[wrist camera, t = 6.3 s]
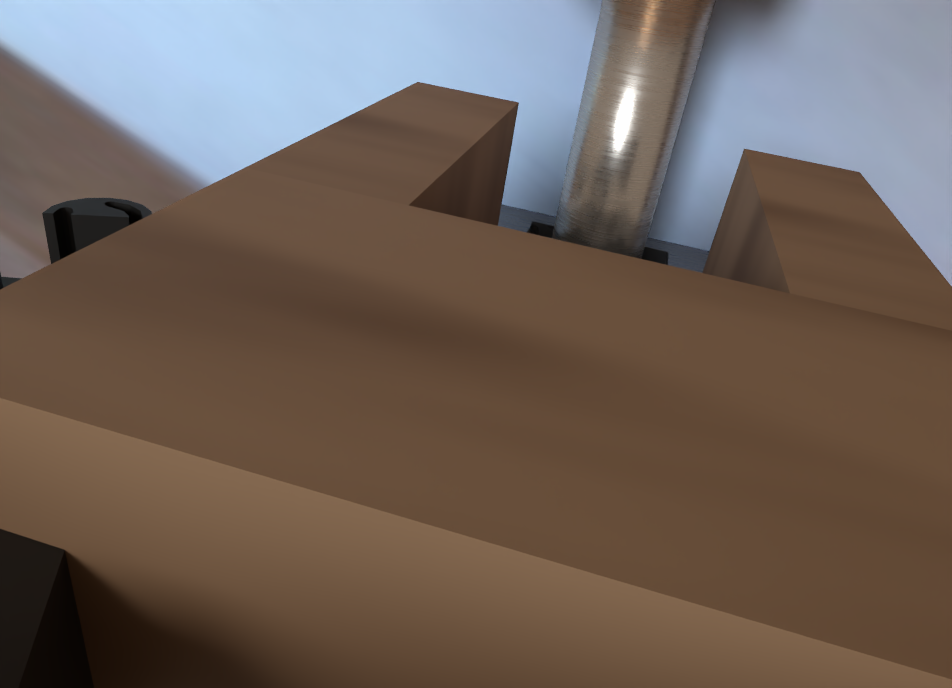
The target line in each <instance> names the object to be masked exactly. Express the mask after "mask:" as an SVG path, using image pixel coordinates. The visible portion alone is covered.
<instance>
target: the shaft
mask: <svg viewBox="0 0 952 688" xmlns="http://www.w3.org/2000/svg"><path fill="white" fill-rule="evenodd" d="M714 3H715V0H602V5H601V10H600V14H599V19H598V24H597V28H596V33H595V38H594V43H593V47H592V52H591V57H590V61H589V66H588V71H587V75H586V80H585V85H584V89H583V94H582V99H581V103H580V108H579V113H578V118H577V122H576V127H575V132H574V136H573V141H572V146H571V150H570V155H569V160H568V164H567V169H566V174H565V178H564V183H563V188H562V192H561V197H560V202H559V207H558V211H557V216H556V221H555V225H554V230H553V235H552V239H557V240H561V241H565V242H570V243H574V244H578V245H583V246H587V247H591V248H596V249H600V250H604V251H609V252H613V253H617V254H622V255H626V256H630V257H635V258H639V259H641V258H642V255H643V251H644V248H645V244H646V241H647V237H648V234H649V230H650V227H651V223H652V220H653V216H654V213H655V209H656V206H657V202H658V199H659V195H660V192H661V188H662V185H663V181H664V178H665V174H666V171H667V167H668V164H669V160H670V157H671V153H672V150H673V146H674V143H675V139H676V136H677V132H678V129H679V125H680V122H681V118H682V115H683V112H684V108H685V105H686V101H687V98H688V94H689V91H690V87H691V84H692V80H693V77H694V73H695V70H696V66H697V63H698V59H699V56H700V52H701V49H702V45H703V42H704V38H705V35H706V31H707V28H708V24H709V21H710V17H711V14H712V10H713V7H714Z"/></svg>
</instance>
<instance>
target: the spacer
mask: <svg viewBox="0 0 952 688" xmlns="http://www.w3.org/2000/svg"><path fill="white" fill-rule="evenodd" d="M518 104H519V103H518V102H513V101H508V100H503V99H498V98H494V97H489V96H484V95H479V94H474V93H469V92H464V91H459V90H454V89H449V88H445V87H440V86H435V85H430V84H425V83H420V82H417V83H415V84H413V85H411V86H409V87H407V88H405V89H403V90H401V91H399V92H397V93H395V94H392V95H390V96H388V97H386V98H384V99H382V100H380V101H378V102H376V103H374V104H372V105H370V106H368V107H366V108H364V109H362V110H360V111H358V112H356V113H354V114H352V115H350V116H348V117H346V118H344V119H342V120H340V121H338V122H336V123H334V124H332V125H330V126H328V127H326V128H324V129H322V130H320V131H318V132H316V133H314V134H312V135H310V136H308V137H306V138H304V139H302V140H300V141H298V142H296V143H294V144H292V145H290V146H288V147H286V148H284V149H282V150H280V151H278V152H276V153H274V154H272V155H270V156H268V157H266V158H264V159H262V160H260V161H258V162H256V163H254V164H252V165H250V166H248V167H246V168H244V169H242V170H240V171H238V172H236V173H234V174H232V175H230V176H228V177H226V178H224V179H222V180H219V181H217V182H215V183H213V184H211V185H209V186H207V187H205V188H203V189H201V190H199V191H197V192H195V193H193V194H191V195H189V196H187V197H185V198H183V199H181V200H179V201H177V202H175V203H173V204H171V205H169V206H167V207H165V208H163V209H161V210H159V211H157V212H155V213H153V214H151V215H149V216H147V217H145V218H143V219H141V220H139V221H137V222H135V223H133V224H131V225H129V226H127V227H125V228H123V229H121V230H119V231H117V232H115V233H113V234H111V235H109V236H107V237H105V238H103V239H101V240H99V241H97V242H95V243H93V244H91V245H89V246H87V247H85V248H83V249H81V250H79V251H77V252H75V253H73V254H71V255H69V256H67V257H65V258H63V259H61V260H59V261H57V262H55V263H53V264H51V265H49V266H46V267H44V268H42V269H40V270H38V271H36V272H34V273H32V274H30V275H28V276H26V277H24V278H22V279H20V280H18V281H16V282H14V283H12V284H10V285H8V286H6V287H4V288H2V289H0V529H3V530H6V531H9V532H12V533H15V534H18V535H21V536H24V537H27V538H30V539H33V540H37V541H40V542H43V543H46V544H49V545H52V546H55V547H58V548H61V549H64V550H65V553H66V558H67V563H68V567H69V572H70V577H71V582H72V586H73V591H74V596H75V600H76V605H77V610H78V614H79V619H80V624H81V629H82V633H83V638H84V643H85V647H86V652H87V657H88V661H89V666H90V671H91V676H92V680H93V685H94V688H952V287H951V285H950V284H949V283H948V282H947V280H946V279H945V278H944V277H943V275H942V274H941V273H940V272H939V270H938V269H937V268H936V267H935V265H934V264H933V263H932V262H931V260H930V259H929V258H928V257H927V256H926V254H925V253H924V252H923V251H922V249H921V248H920V247H919V246H918V244H917V243H916V242H915V241H914V239H913V238H912V237H911V236H910V234H909V233H908V232H907V231H906V229H905V228H904V227H903V226H902V224H901V223H900V222H899V221H898V219H897V218H896V217H895V216H894V214H893V213H892V212H891V211H890V209H889V208H888V207H887V206H886V205H885V203H884V202H883V201H882V200H881V198H880V197H879V196H878V195H877V193H876V192H875V191H874V190H873V188H872V187H871V186H870V185H869V183H868V182H867V181H866V180H865V178H864V177H863V176H862V175H861V173H860V172H855V171H851V170H846V169H841V168H836V167H831V166H826V165H821V164H816V163H811V162H807V161H802V160H797V159H792V158H787V157H782V156H777V155H772V154H767V153H763V152H758V151H753V150H748V149H744V151H743V154H742V157H741V160H740V163H739V166H738V169H737V172H736V175H735V178H734V181H733V184H732V187H731V189H730V192H729V195H728V198H727V201H726V204H725V207H724V210H723V213H722V216H721V219H720V222H719V225H718V228H717V231H716V234H715V237H714V240H713V243H712V246H711V249H710V252H709V255H708V258H707V261H706V264H705V266H704V269H703V272H702V273H700V272H695V271H691V270H687V269H682V268H678V267H674V266H669V265H665V264H661V263H656V262H652V261H648V260H643V259H639V258H635V257H630V256H626V255H622V254H617V253H613V252H609V251H604V250H600V249H596V248H591V247H587V246H583V245H578V244H574V243H570V242H565V241H561V240H557V239H552V238H548V237H544V236H539V235H535V234H531V233H526V232H522V231H518V230H513V229H509V228H505V227H500V226H498V222H499V216H500V210H501V204H502V198H503V192H504V186H505V180H506V175H507V169H508V163H509V157H510V151H511V145H512V139H513V133H514V127H515V121H516V115H517V110H518Z"/></svg>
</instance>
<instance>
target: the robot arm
mask: <svg viewBox="0 0 952 688" xmlns="http://www.w3.org/2000/svg"><path fill="white" fill-rule="evenodd" d="M42 214H43V219H44V225H45V231H46V237H47V242H48V248H49V254H50V259H51V264H53V263H55V262H57V261H59V260H61V259H63V258H65V257H67V256H69V255H71V254H73V253H75V252H77V251H79V250H81V249H83V248H85V247H87V246H89V245H91V244H93V243H95V242H97V241H99V240H101V239H103V238H105V237H107V236H109V235H111V234H113V233H115V232H117V231H119V230H121V229H123V228H125V227H127V226H129V225H131V224H133V223H135V222H137V221H139V220H141V219H143V218H145V217H147V216H149V215H151V214H152V213H151V211H150V210H149V209H148V208H146V207H145V206H143V205H141V204H138V203H135V202H132V201H128V200H122V199H114V198H85V199H78V200H71V201H66V202H63V203H60V204H57V205H54V206H51V207H50V208H49V209H47V210H46V211H45V212H43V213H42ZM20 279H22V278H9V277H1V273H0V289H2V288H4V287H6V286H8V285H10V284H12V283H14V282H16V281H18V280H20ZM0 688H94V685H93V680H92V676H91V671H90V666H89V661H88V657H87V652H86V647H85V643H84V638H83V633H82V629H81V624H80V619H79V614H78V610H77V605H76V600H75V596H74V591H73V586H72V582H71V577H70V572H69V567H68V563H67V558H66V553H65V550H64V549H61V548H58V547H55V546H52V545H49V544H46V543H43V542H40V541H37V540H33V539H30V538H27V537H24V536H21V535H18V534H15V533H12V532H9V531H6V530H3V529H0Z"/></svg>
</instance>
